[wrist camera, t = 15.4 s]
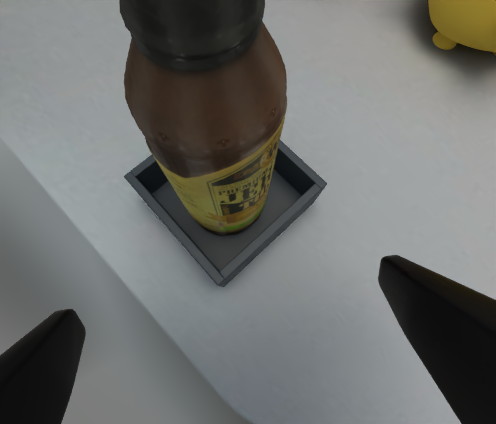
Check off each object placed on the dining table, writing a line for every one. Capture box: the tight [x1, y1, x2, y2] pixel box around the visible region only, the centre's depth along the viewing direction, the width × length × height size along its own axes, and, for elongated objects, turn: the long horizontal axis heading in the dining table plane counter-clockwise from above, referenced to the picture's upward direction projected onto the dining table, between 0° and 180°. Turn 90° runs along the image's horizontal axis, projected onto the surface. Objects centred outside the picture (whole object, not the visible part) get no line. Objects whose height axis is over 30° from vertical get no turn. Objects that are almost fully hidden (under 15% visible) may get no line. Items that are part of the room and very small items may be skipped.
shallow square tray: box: [124, 140, 327, 287], centre depth 21 cm, size 10×10×4 cm
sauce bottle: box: [120, 0, 287, 235], centre depth 13 cm, size 6×6×20 cm
